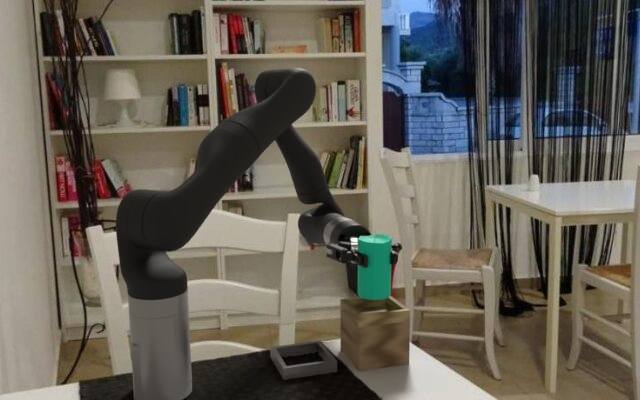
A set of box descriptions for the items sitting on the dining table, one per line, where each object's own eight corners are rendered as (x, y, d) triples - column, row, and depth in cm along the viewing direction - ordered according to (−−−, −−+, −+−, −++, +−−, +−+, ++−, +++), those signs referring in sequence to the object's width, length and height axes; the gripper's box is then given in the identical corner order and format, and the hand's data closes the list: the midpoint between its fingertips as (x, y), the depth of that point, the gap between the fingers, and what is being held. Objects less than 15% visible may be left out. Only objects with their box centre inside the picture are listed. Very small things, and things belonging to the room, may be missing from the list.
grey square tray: (283, 379, 106) (283, 368, 106) (270, 357, 115) (270, 347, 115) (337, 371, 109) (337, 360, 109) (320, 350, 118) (320, 340, 118)
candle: (390, 289, 116) (391, 226, 114) (391, 300, 110) (392, 233, 108) (358, 288, 117) (358, 225, 115) (356, 299, 111) (357, 233, 109)
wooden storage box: (359, 371, 109) (359, 316, 108) (340, 350, 118) (340, 299, 117) (409, 363, 112) (410, 310, 111) (387, 343, 121) (387, 293, 120)
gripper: (312, 222, 123) (342, 243, 107) (380, 217, 127) (418, 236, 111) (312, 259, 124) (342, 285, 108) (379, 253, 128) (417, 277, 113)
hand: (380, 260), depth 110 cm, fingers closed on candle, 5 cm apart
